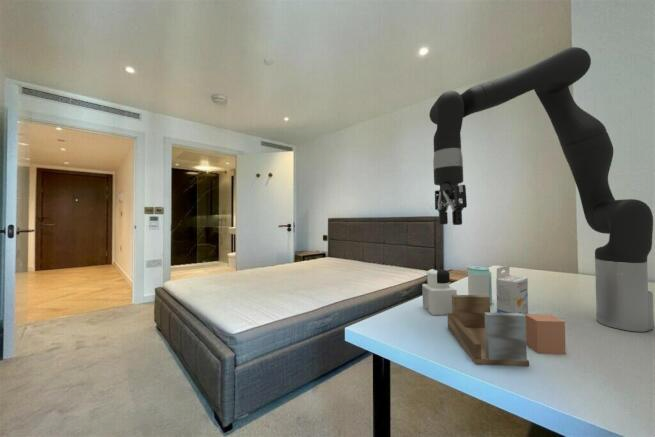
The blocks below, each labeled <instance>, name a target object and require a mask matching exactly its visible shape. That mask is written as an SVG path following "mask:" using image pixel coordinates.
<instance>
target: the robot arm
mask: <svg viewBox="0 0 655 437" xmlns="http://www.w3.org/2000/svg"><path fill="white" fill-rule="evenodd" d="M591 65H592V58H591V55H590V54H589V52H588V51H587V50H585V49H584V48H582V47H578V46H577V47H576V46H571V47H567V48H565V49H562V50H560V51H557V52H556V53H553V54H552V55H550V56H548V57H546V58H545V59H542V60H540V61H538V62H536V63H534V64H532V65H529V66H527V67H525V68H521V69H519V70H517V71H514V72H511V73H510V74H506V75H504V76H501V77H498V78H495V79H492V80H489V81H486V82H482V83H479V84H476V85H474V86H471V87H469V88H468V89H466V90H465V91H464V92H463V93H461V94H460V92H457V91H455V90H448V91H445V92H443V93H442V94H440V95H439V97H438V98H437V99H436V100H435V102H434V104H433V105H432V106H431V108H430V111H429V116H428V117H429V119H430V121H431V122H432V123H433V124H434V125H436V130H435V132H434V134H433V160H432V162H433V166H432V167H433V184H434V185H435V186H439V190H437V189H435V191H434V209H435V211H437V212H438V222H439V224H440V225H448V222H449V221H448V209H449V206H450V208H451V210H452V211H451V213H452V217H451V218H452V219H451V220H452V225H453V226H461V225H462V224H463V211H464V208H465V209H466V208H467V207H468V204H467V203H468V202H467V189H466V184H462V183H464V164H463V162H464V160H463V152H462V137H461V132H462V127H463V120H464V118H466V117H467V116H470V115H472V114H475V113H479V112H482V111H486V110H489V109H492V108H494V107H497V106H500V105H502V104H506V103H507V102H509V101H511V100H513V99H515V98H518V97H519V96H522V95H524V94H526V93H528V92H532V91H534V92H535V94H536V96H537V98H538V99H539V101H540V103H541V105H542V107H543V108H544V110H545V112H546V113H547V116H548V118H549V120H550V123H551V124H552V128H553V129H554V132H555V134H556V136H557V139H558V141H559V145H560V147H561V149H562V153H563V155H564V158H565V159H566V162H567V163H568V166H569V168H570V171H571V174H572V177H573V180H574V183H575V185H576V188H577V191H578V194H579V199H580V202H581V203H580V204H581V207H582V211H583V214H584V218H585V220H586V224H587V225H588V226H589V227H590V228H591V229H592V230H593V231H595V232H597V233H601V234H605V235H606V234H608V235H609V236H608V242H607V243H606V244H604V245H603V246H600V247H596V249H595V250H594V264H595V265H594V267H595V277H594V278H595V305H596V307H595V310H596V316H595V317H596V321H597V322H598V323H599V324H602V325H604V326H608V327H610V328H615V329H618V330H623V331H628V332H640V333H642V332H643V333H644V332H649V331H651V330H652V329H654V330H655V328H654V325H655V323H654V320H655V319H654V294H653V291H650V290H649V277H648V276H649V275H648V274H649V273H648V272H649V271H648V257H649V254H650V253H651V250H652V247H653V235H654V234H653V233H654V217H653V212H652V210H651V208H650V206H649V205H648V204H647V203H646V202H644V201H642V200H640V199H635V198H629V199H628V198H626V199H615V197H614V195H613V193H612V190H611V188H610V183H609V173H610V169H611V166H612V162H613V157H614V145H613V142H612V141H611V138H610V136H609V133H608V131H607V128H606V126H605V125H604V123H602V122H601V121H600V120H599V119H598V118H596V117H595V116H593V115H592V114H590V113H589V112H587V111H585V110H583V109H582V108H581V107H580V106H579V105H578V104H577V103H576V101H575V100H574V98H573V96H572V93H571V91H570V86H572V85H573V84H575V83H576V82H578V81H580V80H581V78H583V77H584V76H585V75H586V74H587V73H588V71H589V69H590V68H591Z"/></svg>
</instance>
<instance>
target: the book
mask: <svg viewBox="0 0 655 437" xmlns="http://www.w3.org/2000/svg"><path fill="white" fill-rule="evenodd" d="M525 316H526V346H527V347H528V348H530V349H531V350H533V351H534V352H535V353H536V354H548V355H550V354H551V355H566V354H567V353H566V352H567V350H566V349H567V348H566V321H564V320H563V319H560V318H558V317H557V316H555V315H552V314H531V313H530V314H529V313H528V314H525Z"/></svg>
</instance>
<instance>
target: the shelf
mask: <svg viewBox="0 0 655 437" xmlns="http://www.w3.org/2000/svg"><path fill="white" fill-rule="evenodd" d="M447 314H448V315H447V329H448V331H449V333H451V334H452V336H453V337H454V338H455V339H456V341H457V342H458V343H459V345H460V346H461V348H463V350H464V351H465V353H466V354H467V355H468V357H469V358H470V359H471V360H472V362H473V363H474V364H475V365H492V366H493V365H494V366H513V367H514V366H515V367H530V361H529V360H528V352H527V351H528V350H527V347H528V346H527V345H526V316H525V315H524V314H522V313H497V312H491V303H490V297H489V296H487V295H468V294H457V295H452V314H450V313H447Z"/></svg>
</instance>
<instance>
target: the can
mask: <svg viewBox="0 0 655 437" xmlns="http://www.w3.org/2000/svg"><path fill="white" fill-rule="evenodd" d="M492 278H493V277H492V272H491V271H490V268H489V267H486V266H480V265H479V266H476V265H475V266H470V267H469V269H468V271H467V295H487V296H489V297H490V304H492V303H493V289H492V286H493V285H492V283H493V282H492Z"/></svg>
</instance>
